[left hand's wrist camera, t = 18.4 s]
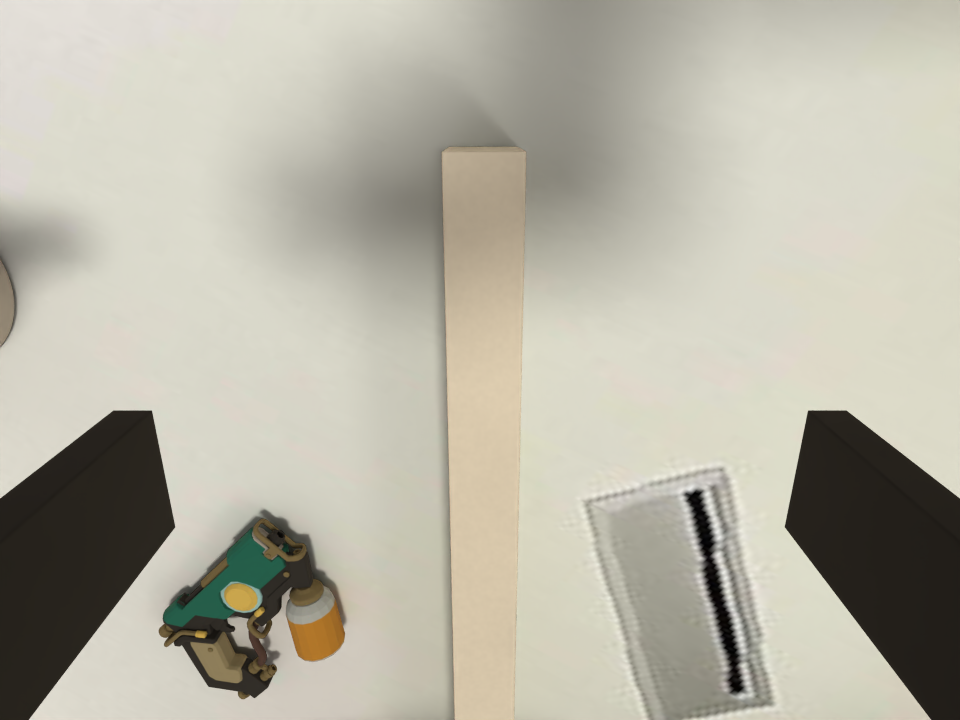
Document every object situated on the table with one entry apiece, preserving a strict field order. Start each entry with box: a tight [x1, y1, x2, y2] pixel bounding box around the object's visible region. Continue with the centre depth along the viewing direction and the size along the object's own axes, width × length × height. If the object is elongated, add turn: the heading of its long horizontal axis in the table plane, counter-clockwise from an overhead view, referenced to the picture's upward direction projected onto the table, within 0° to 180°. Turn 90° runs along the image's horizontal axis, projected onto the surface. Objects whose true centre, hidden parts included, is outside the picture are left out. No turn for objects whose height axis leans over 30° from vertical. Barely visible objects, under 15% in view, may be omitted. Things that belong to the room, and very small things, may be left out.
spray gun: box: [159, 519, 345, 699], centre depth 54 cm, size 4×17×15 cm
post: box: [442, 147, 526, 720], centre depth 49 cm, size 57×5×8 cm, turn 0°
